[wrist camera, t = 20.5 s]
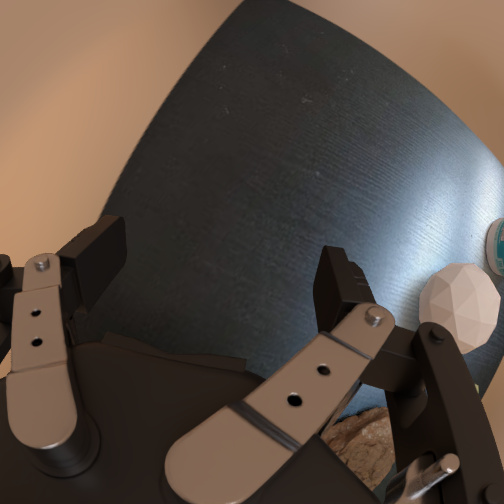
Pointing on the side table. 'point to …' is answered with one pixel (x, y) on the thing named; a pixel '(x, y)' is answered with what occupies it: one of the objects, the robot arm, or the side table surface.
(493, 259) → the pill bottle
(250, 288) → the side table surface
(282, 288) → the side table surface
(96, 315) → the side table surface
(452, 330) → the perfume bottle
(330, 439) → the rock
